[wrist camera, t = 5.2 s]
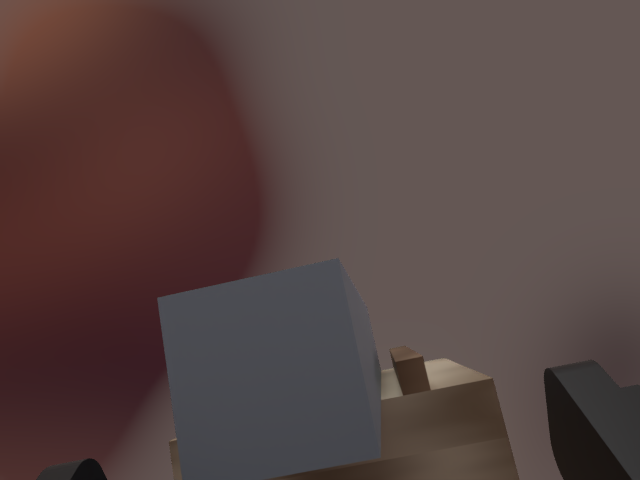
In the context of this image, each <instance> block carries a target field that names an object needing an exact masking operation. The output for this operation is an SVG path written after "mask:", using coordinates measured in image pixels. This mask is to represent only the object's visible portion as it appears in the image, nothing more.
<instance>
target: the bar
mask: <svg viewBox="0 0 640 480" xmlns="http://www.w3.org/2000/svg"><path fill="white" fill-rule="evenodd" d="M157 299H158V306H159V313H160V321H161V328H162V335H163V343H164V350H165V357H166V365H167V372H168V379H169V387H170V394H171V401H172V409H173V416H174V423H175V430H176V438H177V445H178V452H179V460H180V467H181V474H182V480H264V479H270V478H275V477H280V476H286V475H291V474H296V473H302V472H307V471H312V470H318V469H323V468H329V467H334V466H339V465H345V464H350V463H355V462H361V461H366V460H371V459H377V458H381V369H380V364H379V360H378V355H377V351H376V346H375V341H374V337H373V332H372V328H371V324H370V319H369V314H368V309H367V306H366V305H365V303H364V301H363V300H362V298H361V296H360V294H359V293H358V291H357V289H356V288H355V286H354V284H353V282H352V281H351V279H350V277H349V276H348V274H347V272H346V270H345V269H344V267H343V265H342V264H341V262H340V260H339V259H338V258H337V259H332V260H328V261H324V262H319V263H314V264H310V265H305V266H301V267H296V268H291V269H287V270H282V271H278V272H273V273H269V274H264V275H260V276H255V277H250V278H246V279H242V280H237V281H232V282H228V283H223V284H218V285H214V286H210V287H205V288H201V289H196V290H191V291H187V292H182V293H178V294H173V295H168V296H164V297H159V298H157Z"/></svg>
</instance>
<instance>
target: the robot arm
mask: <svg viewBox="0 0 640 480" xmlns="http://www.w3.org/2000/svg"><path fill="white" fill-rule="evenodd" d="M544 384H545V392H546V403H547V411H548V422H549V431H550V440H551V446H552V450H553V453H554V457H555V460H556V463H557V466H558V468H559V471H560V473H561V475H562V477H563V479H564V480H640V386H639V385H634V386H629V387H623V388H620V387H619V386H618V385H617V384H616V383H615V382H614V381H613V379H612V378H611V377H610V376H609V375H608V374H607V373H606V372H605V371H604V369H603V368H602V367H601V366H600V365H599V364H598V363H597V362H595V361H593V360H588V361H583V362H577V363H573V364H567V365H562V366H557V367H552V368H547V369H545V372H544ZM36 480H107V478H106V476H105V474H104V472H103V470H102V468H101V466H100V465H99V463H98V462H97V461H96V460H94V459H84V460H79V461H73V462H68V463H63V464H58V465H53V466H49V467H47V468H46V469H45V470H43V471H42V472H41V474H40V475H39V476H38V478H37V479H36Z"/></svg>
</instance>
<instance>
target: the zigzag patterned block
mask: <svg viewBox="0 0 640 480" xmlns="http://www.w3.org/2000/svg"><path fill="white" fill-rule="evenodd" d="M390 353H391V358H392V362H393V367H394V368H393V369H387V370H382V371H381V458H377V459H371V460H366V461H361V462H355V463H350V464H345V465H339V466H334V467H329V468H323V469H318V470H312V471H307V472H302V473H296V474H291V475H286V476H280V477H275V478H270V479H264V480H519V477H518V473H517V469H516V465H515V461H514V457H513V453H512V450H511V446H510V442H509V438H508V435H507V431H506V427H505V423H504V419H503V415H502V412H501V408H500V404H499V400H498V397H497V392H496V389H495V385H494V381H493V378H491V377H489V376H486V375H484V374H481V373H479V372H477V371H474V370H472V369H470V368H467V367H465V366H462V365H460V364H457V363H455V362H453V361H450V360H448V359H446V358H442V359H437V360H432V361H427V362H424V359H423V356H421V355H420V354H418V353H416V352H415V351H413V350H411V349H410V348H408V347H406V346H402V347H397V348H392V349H390ZM169 446H170V453H171V461H172V469H173V475H174V480H182V474H181V467H180V460H179V452H178V445H177V438H175V439H173V440H171V441H169Z"/></svg>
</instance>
